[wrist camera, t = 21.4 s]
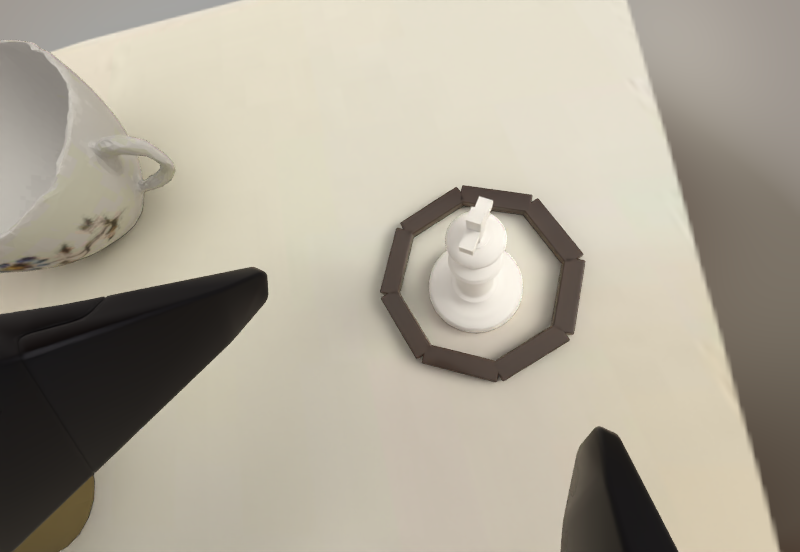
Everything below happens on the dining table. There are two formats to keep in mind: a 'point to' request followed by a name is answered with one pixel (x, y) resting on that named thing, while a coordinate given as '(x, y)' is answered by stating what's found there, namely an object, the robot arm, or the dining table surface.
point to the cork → (62, 523)
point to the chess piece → (476, 273)
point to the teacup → (63, 164)
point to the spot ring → (525, 352)
